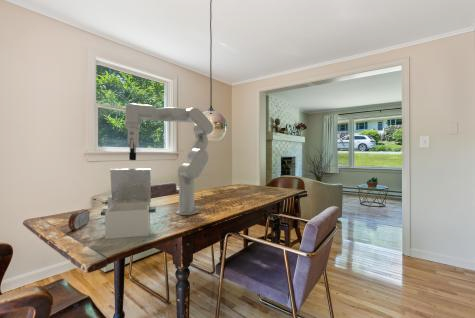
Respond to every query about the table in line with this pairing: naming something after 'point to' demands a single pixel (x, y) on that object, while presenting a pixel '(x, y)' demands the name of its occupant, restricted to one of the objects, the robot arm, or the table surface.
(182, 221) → the table surface
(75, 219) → the tin
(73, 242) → the table surface
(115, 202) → the lid
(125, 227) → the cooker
